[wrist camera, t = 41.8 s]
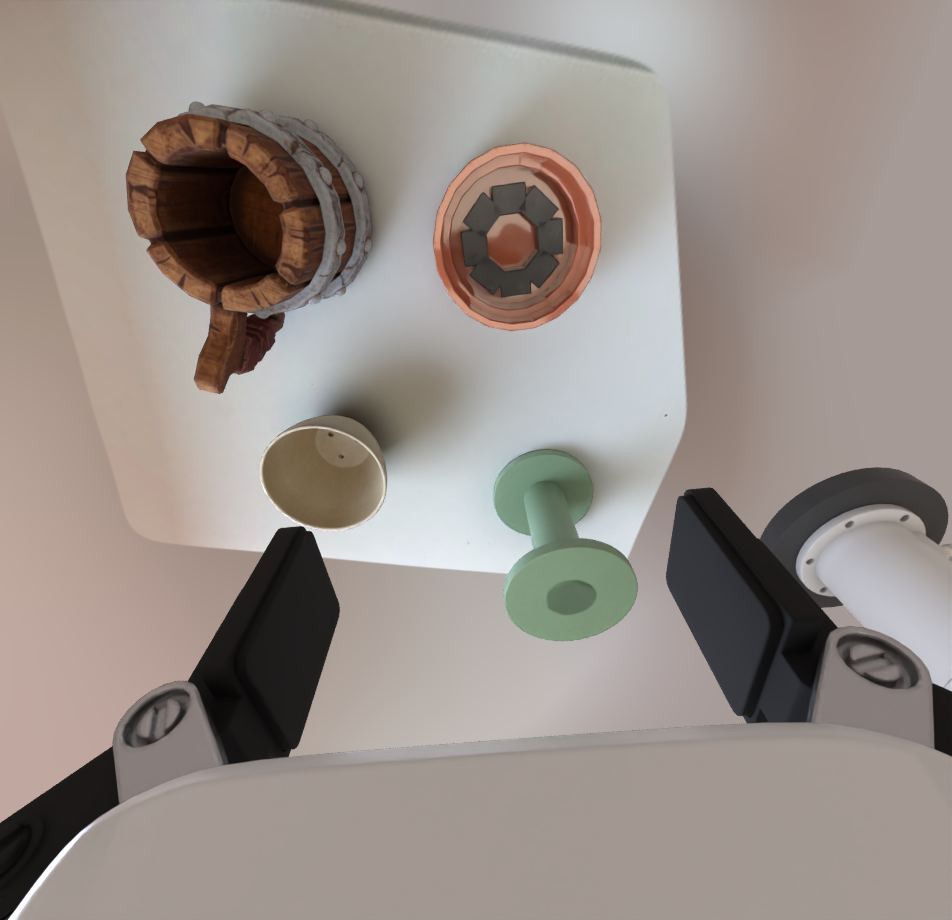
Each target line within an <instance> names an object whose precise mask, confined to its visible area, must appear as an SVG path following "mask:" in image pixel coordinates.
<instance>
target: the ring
mask: <svg viewBox="0 0 952 920" xmlns="http://www.w3.org/2000/svg"><path fill="white" fill-rule="evenodd" d="M490 193H491V199H490V198H489V197H488V196H487V195H486V194H485V193H484V192H482V193H481V195H480V196H479V198H478V199H477V201H476V202H475V204H474V205H473V207H472V208H471V210H470V211H469V212H468V214H467V215H466V217H465V218H464V220H463V223H464V224H465V225H466V226H468V227H469V228H470V229H469V230H461V241H462V249H463V257H464V265H465V267H469V266H473V267H472V268H471V270H470V271H469V275H470V276H471V277H472V278H473V279H474V280H475V281H477V282H478V283H479V284H480V285H481V286H483V287H484V288H485V289H486V290H487V291H489V292H490V293H491V294H492V295H494V294H495V292H496V291H497V290H498V288H499V293H500V295H501V297H510V296H517V295H525V294H531V283H533V284H534V285H535V286H536V287H537V288H538V289H539V288H540V287H541V286H542V285H543V284H544V282H545V281H546V280H547V279H548V277H549V276H550V275H551V274H552V272H553V271H554V270H555V269H556V267H557V266H558V265H559V261H558V260H557V259H555V258H554V257H553V256H552V255H558V254H563V218H559V217H555V218H552V217H553V216H554V215H555V213H556V212H557V211H558V209H559V208H558V207H557V206H556V205H555V204H554V203H553V202H552V201H551V200H550V199H549V198H548V197H547V196H546V195H544V194H543V193H542V192H541V191H540V190H539V189H538V188H537V187H536V186H535V185H532V186H530V187H529V189H528V190H527V191H526V184H525V182H519V183H512V184H505V185H498V186H492V187H490ZM517 213H520V214H521V215H522V216H523V217H524V218H525V219H526V220H527V221H528V222H529V223H531V224H532V225H533V226H534V239H535V250H534V251H533V252H532V254H531V255H530V256H529V257H528V259H527V260H526V261H525V263H524V264H523V265H522V266H517V267H510V268H501V267H500V266H499V265H498V264H497V263H496V262H495V261H493V260H492V259H491V258H490V257H489V256H488V246H487V236H486V235H487V233H488V232H489V230H490V229H491V228H492V226H493V225H494V223H495V222H496V221H497V219H498V218H499V216H502V215H510V214H517Z"/></svg>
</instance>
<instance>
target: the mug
mask: <svg viewBox="0 0 952 920" xmlns="http://www.w3.org/2000/svg"><path fill="white" fill-rule="evenodd" d="M140 140H141V142H142V144H143V145H144V147H145V148H146V152H139V151H133V154H132V157H131V160H130V163H129V167H128V170H127V173H126V185H127V200H128V211H129V213H130V216H131V218H132V221H133V224H134V226H135V229H136V231H137V234H138V236H139V237H142V238H145V239H148V240H150V242H151V245H150V246H149V247H148V249H147V250H146V251H147V252H148V254H149V255H150V256H151V258H152V259H153V261H154V262H155V263H156V265H157V266H158V268H159V269H160V270H161V272H162V273H163V274H164V275H165V276H167V277H168V278H169V279H170V280H171V281H173V282H174V283H175V284H176V285H177V286H179V287H180V288H181V289H182V290H183V291H185V292H186V293H187V294H188V295H189V296H192V297H194V298H196V299H198V300H200V301H202V302H205V303H207V304H209V305H211V319H210V325H209V332H208V337H207V339H206V342H205V344H204V346H203V348H202V350H201V352H200V354H199V357H198V362H197V367H196V372H195V377H194V381H195V383H196V385H197V387H198V388H199V389H200V390H205V391H209V392H213V393H217V394H221V393H223V391H224V389H225V386H226V384H227V381H228V379H229V376H230V375H231V374H233V373H235V374H239V375H240V374H243V373H247V372H249V371H252V370H254V367H255V366H256V365H257V363H258V362H260V361H261V360H262V359H263V357H264V355H265V354H266V352H267V351H269V350H270V349H271V347H272V346H273V344H274V343H275V338H274V337H275V333H276V332H277V331H279V330H280V329H281V328H282V327H283V322H284V317H285V314H284V312H285V311H289V310H294V309H297V308H300V307H303V306H305V305H307V304H308V303H311V304H317V303H318V302H319V301H320V300H321V299H325V298H329V297H332V296H334V295H335V294H336V295H338V296H342V295H343V294H344V293H345V291H346V288H345V287H346V286H347V285H349V284H350V283H351V282H353V280H354V279H355V277H356V275H357V274H358V272H359V270H360V269H361V267H362V265H363V264H364V262H365V260H366V258H367V254H368V251H370V250H371V248H372V242H371V240H370V237H371V231H372V226H371V219H370V212H369V205H368V198H367V195H366V193H365V190H364V188H363V184H364V182H363V178H362V177H361V176H360V175H359V174H357V173H356V171H355V169H354V167H353V165H352V163H351V162H350V161H349V160H348V159H347V158H346V156H345V155H344V154H343V153H342V152H341V151H340V150H339V148H338V147H337V146H336V145H335V144H334V143H333V142H332V141H331V139H330V138H329V137H328V136H326V135H324V134H323V133H321V132H319V131H318V127H317V125H316V124H315V123H314V122H313V121H312V120H306V121H304V122H302V121H301V120H299V119H295V118H289V117H283V116H277V115H274V114H273V113H272V112H270V111H269V110H262V111H261V112H255V111H251V110H249V109H237V108H231V107H225V106H219V105H213V104H212V105H208V106H205V105H203V104H202V103H200V102H193V103H191V104H190V106H189V111H188V112H184V113H181V114H179V115H178V116H177V117H174V118H170V119H167V120H164V121H160V122H157V123H156V124H155V125H154V126H153V127H152V128H151V129H150V130H149V131H148V132H147V133H146V134H145V135H144V136H143V137H142V138H141V139H140ZM247 312H248V313H255V314H253V315H250V316H248V317H247Z"/></svg>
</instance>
